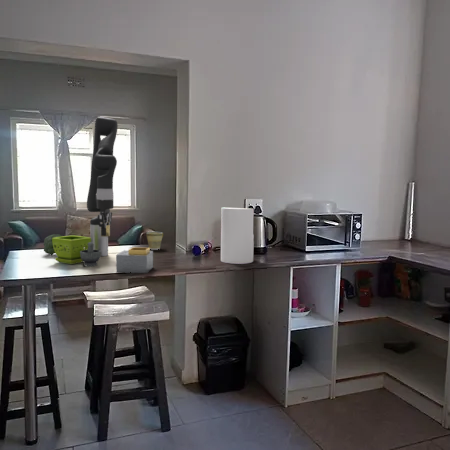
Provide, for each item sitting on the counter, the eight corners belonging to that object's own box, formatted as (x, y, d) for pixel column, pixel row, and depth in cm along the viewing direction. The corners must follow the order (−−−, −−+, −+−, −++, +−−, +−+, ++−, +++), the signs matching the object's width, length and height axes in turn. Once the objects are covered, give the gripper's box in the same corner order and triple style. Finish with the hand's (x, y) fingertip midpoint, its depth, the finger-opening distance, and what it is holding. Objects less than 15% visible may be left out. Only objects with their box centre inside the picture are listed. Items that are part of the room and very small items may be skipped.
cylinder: (247, 264, 226) (248, 209, 223) (215, 262, 232) (216, 208, 229) (257, 259, 242) (258, 207, 239) (227, 256, 248) (227, 206, 245)
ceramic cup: (155, 250, 264) (155, 234, 263) (142, 249, 269) (142, 232, 268) (169, 248, 275) (169, 232, 274) (157, 246, 280) (157, 230, 279)
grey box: (116, 272, 203) (116, 250, 202) (124, 266, 216) (124, 246, 215) (146, 273, 202) (146, 251, 201) (152, 267, 215) (152, 247, 214)
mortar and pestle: (80, 263, 222) (79, 239, 221) (99, 262, 225) (99, 239, 224) (80, 268, 211) (80, 243, 210) (101, 267, 214) (101, 242, 213)
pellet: (99, 236, 207) (99, 225, 207) (102, 235, 211) (102, 224, 211) (108, 236, 207) (108, 226, 207) (110, 235, 211) (110, 225, 210)
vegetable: (74, 251, 243) (48, 241, 235) (62, 265, 249) (36, 256, 241) (76, 236, 252) (50, 226, 244) (64, 250, 258) (39, 240, 250)
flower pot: (71, 265, 216) (70, 240, 215) (51, 262, 223) (50, 237, 222) (92, 261, 228) (92, 236, 227) (73, 258, 235) (72, 234, 234)
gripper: (102, 197, 214) (102, 232, 216) (91, 199, 200) (92, 236, 202) (117, 197, 214) (117, 233, 216) (108, 199, 200) (108, 237, 202)
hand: (105, 234), depth 209 cm, fingers closed on pellet, 4 cm apart
